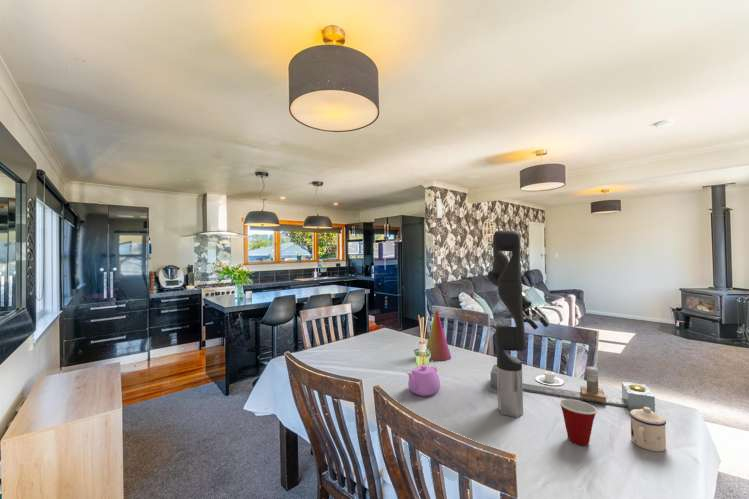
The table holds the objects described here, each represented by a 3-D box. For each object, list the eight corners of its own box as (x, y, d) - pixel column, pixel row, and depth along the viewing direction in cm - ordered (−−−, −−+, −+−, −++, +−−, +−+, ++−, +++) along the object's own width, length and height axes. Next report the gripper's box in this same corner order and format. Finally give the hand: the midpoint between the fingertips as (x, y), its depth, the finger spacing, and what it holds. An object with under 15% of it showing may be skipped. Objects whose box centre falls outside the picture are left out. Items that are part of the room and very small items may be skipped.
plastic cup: (605, 443, 106) (604, 406, 106) (587, 454, 101) (586, 415, 101) (571, 428, 116) (570, 394, 116) (553, 437, 110) (552, 402, 110)
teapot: (425, 381, 159) (425, 357, 159) (448, 390, 149) (447, 364, 149) (396, 394, 146) (396, 368, 146) (419, 404, 136) (418, 376, 136)
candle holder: (531, 382, 157) (531, 373, 157) (540, 374, 166) (540, 366, 166) (559, 389, 149) (559, 379, 149) (566, 381, 157) (566, 372, 157)
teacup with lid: (635, 433, 112) (634, 398, 112) (670, 445, 104) (669, 409, 105) (622, 445, 105) (621, 409, 105) (659, 460, 97) (658, 421, 98)
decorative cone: (418, 357, 196) (417, 307, 197) (435, 351, 207) (433, 303, 207) (440, 363, 184) (439, 310, 185) (456, 356, 195) (455, 306, 195)
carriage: (606, 402, 131) (605, 373, 131) (582, 398, 135) (581, 370, 135) (602, 393, 139) (601, 366, 139) (580, 390, 143) (579, 363, 143)
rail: (655, 415, 123) (654, 395, 123) (490, 388, 150) (490, 371, 150) (646, 401, 134) (645, 383, 134) (494, 378, 161) (494, 363, 161)
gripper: (514, 295, 154) (538, 324, 144) (532, 293, 161) (556, 320, 151) (505, 305, 158) (527, 334, 148) (522, 303, 166) (545, 329, 156)
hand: (542, 327), depth 150 cm, fingers open, 8 cm apart
